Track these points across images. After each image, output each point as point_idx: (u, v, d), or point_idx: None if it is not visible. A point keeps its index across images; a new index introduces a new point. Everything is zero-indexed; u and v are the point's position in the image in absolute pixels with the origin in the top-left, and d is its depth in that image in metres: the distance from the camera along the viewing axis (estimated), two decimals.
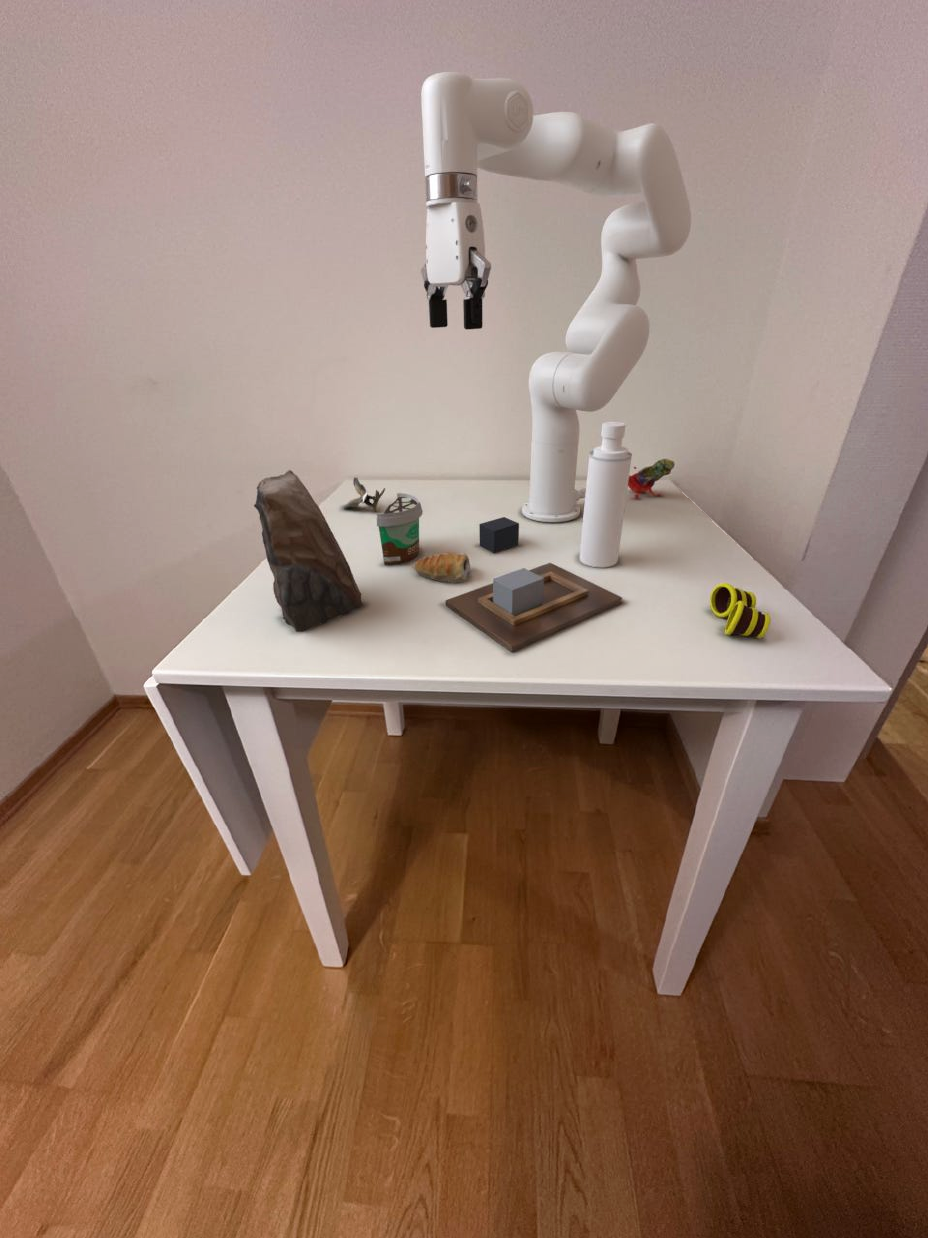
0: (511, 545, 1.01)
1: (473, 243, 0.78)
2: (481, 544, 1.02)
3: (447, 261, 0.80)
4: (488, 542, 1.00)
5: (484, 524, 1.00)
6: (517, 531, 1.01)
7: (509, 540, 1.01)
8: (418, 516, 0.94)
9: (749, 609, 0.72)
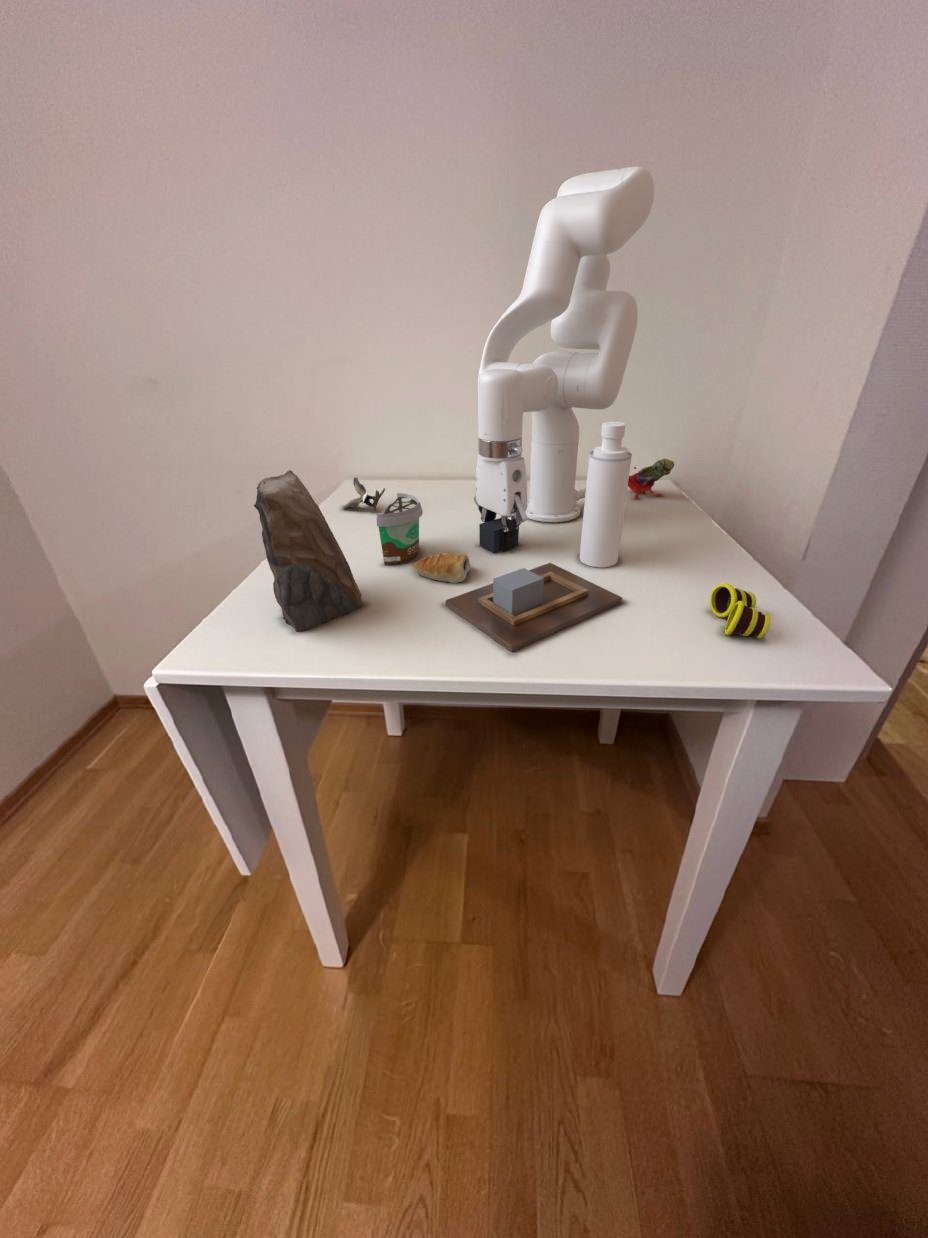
0: None
1: (518, 489, 0.93)
2: (481, 544, 1.02)
3: (495, 498, 0.95)
4: (488, 542, 1.00)
5: (484, 524, 1.00)
6: (517, 531, 1.01)
7: None
8: (418, 516, 0.94)
9: (749, 609, 0.72)
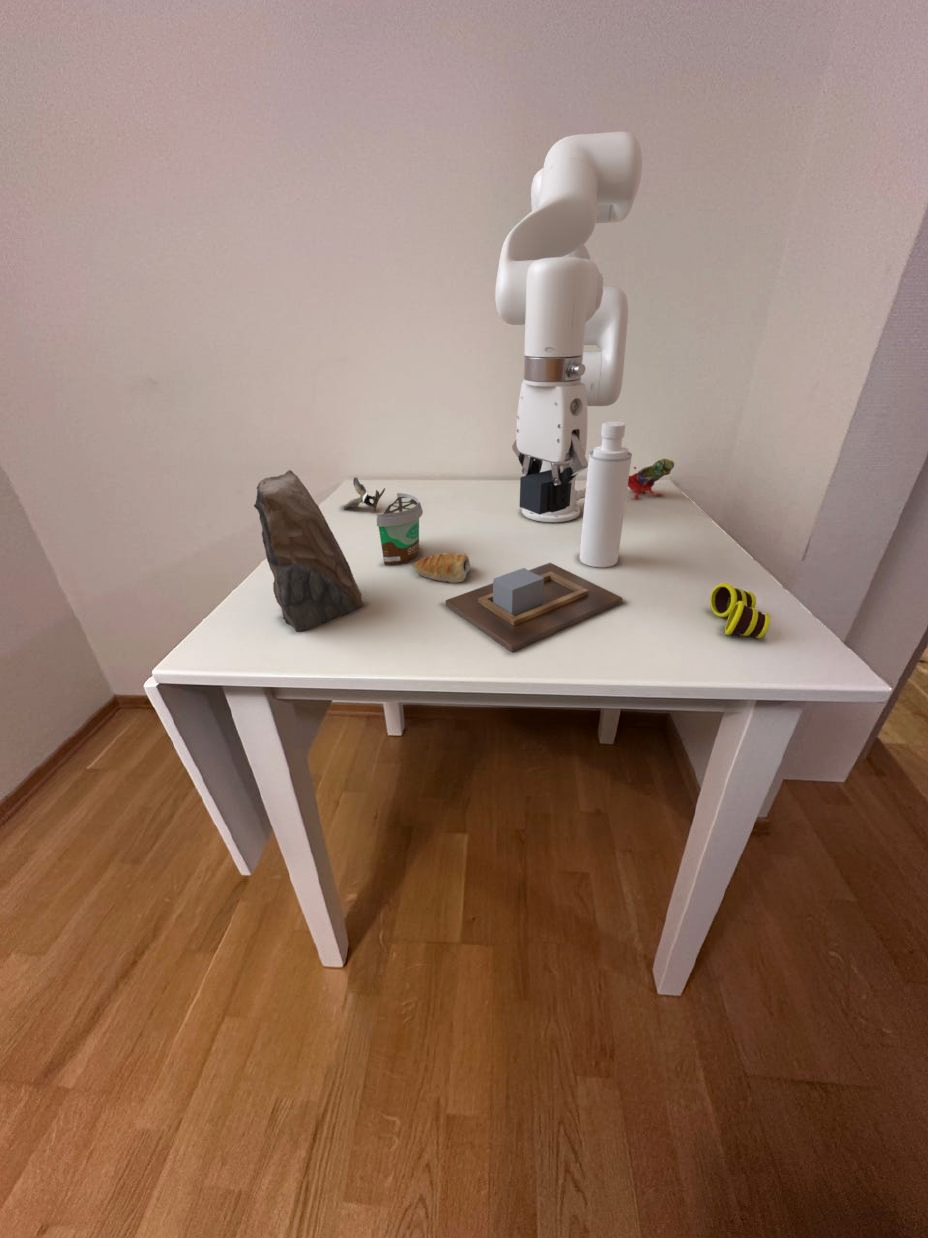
0: None
1: (577, 426, 0.70)
2: (522, 504, 0.79)
3: (545, 440, 0.72)
4: (532, 500, 0.77)
5: (527, 477, 0.77)
6: (569, 487, 0.78)
7: None
8: (418, 516, 0.94)
9: (749, 609, 0.72)
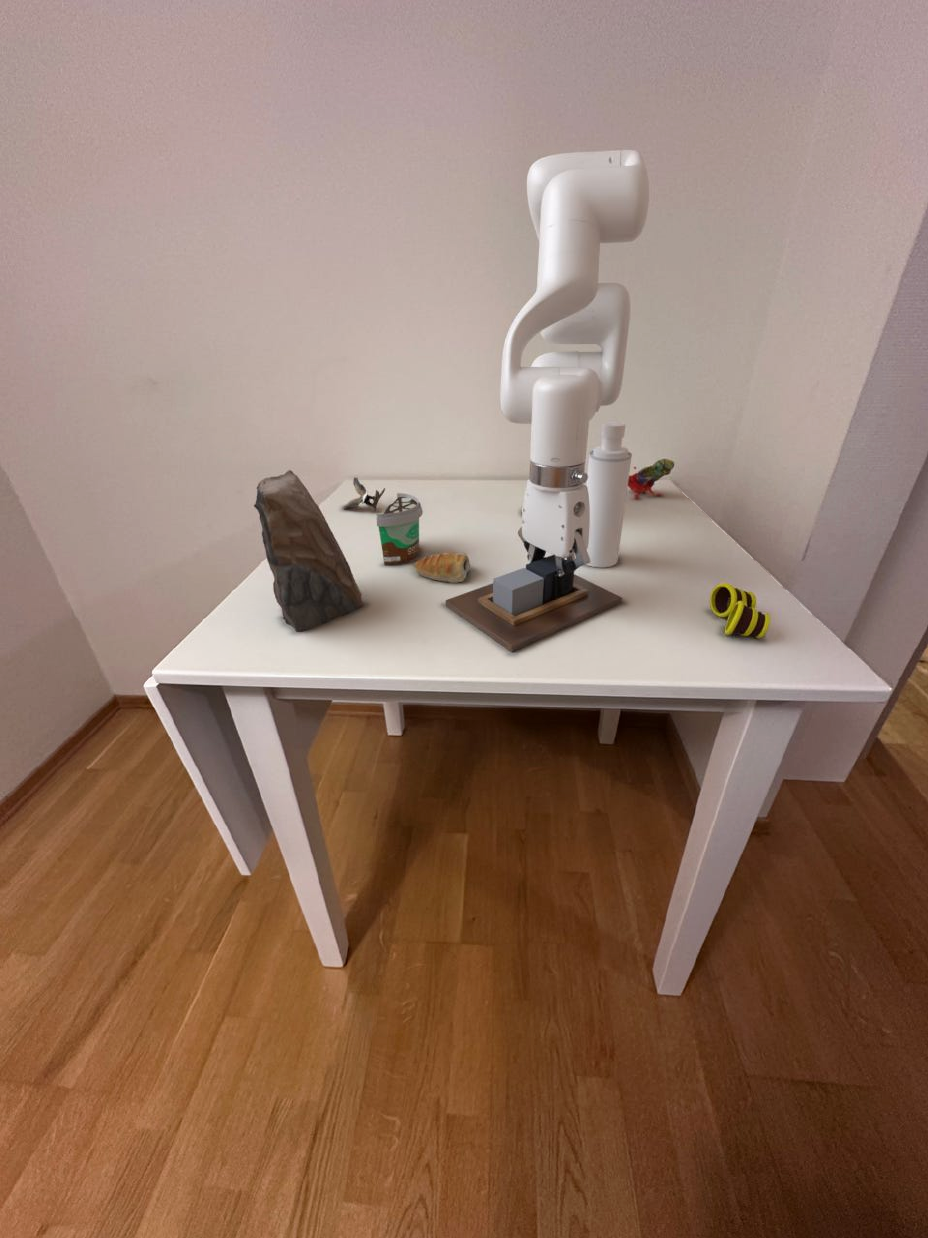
0: None
1: (580, 525, 0.74)
2: None
3: (550, 536, 0.76)
4: None
5: (532, 565, 0.81)
6: (572, 573, 0.82)
7: None
8: (418, 516, 0.94)
9: (749, 609, 0.72)
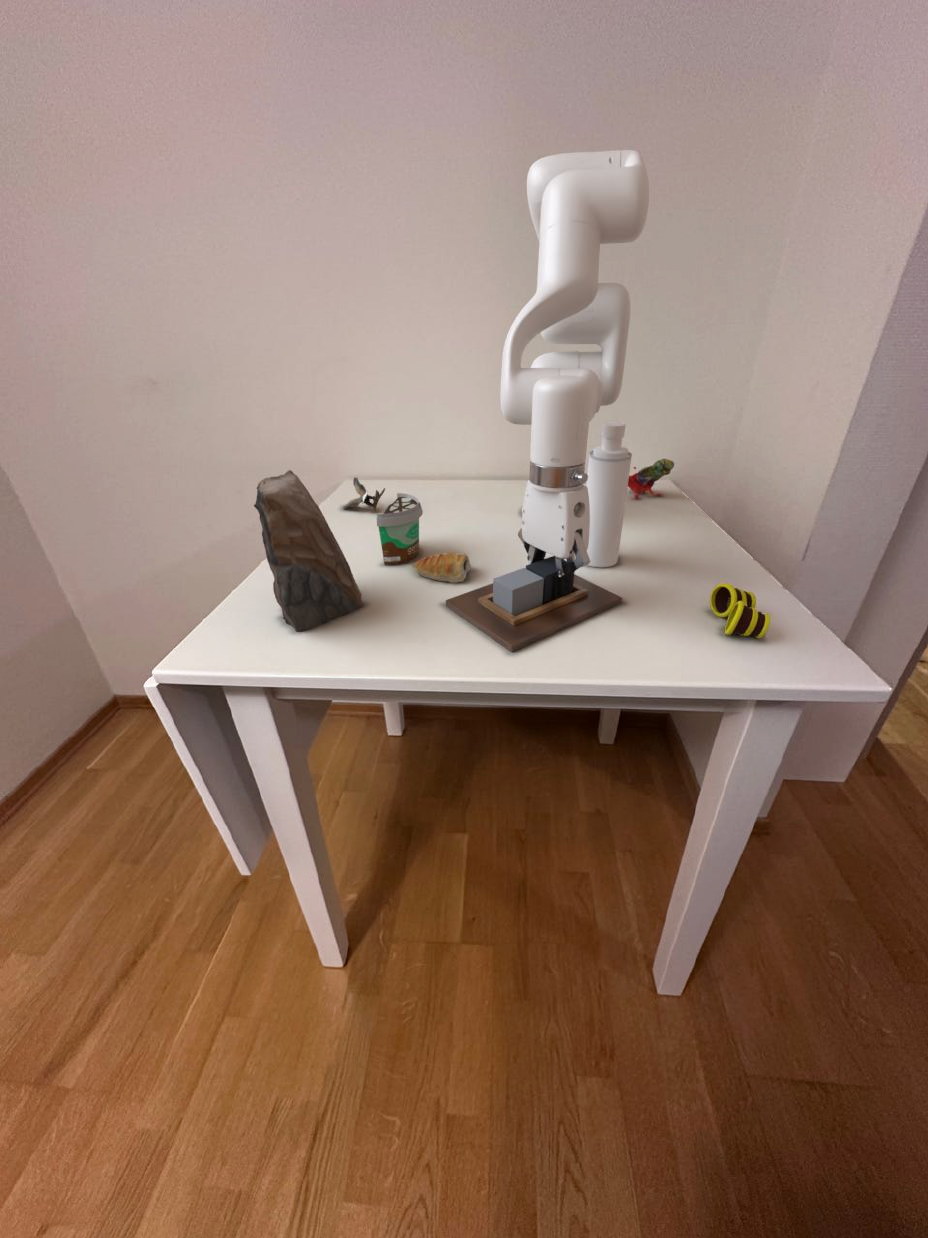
0: None
1: (580, 526, 0.74)
2: None
3: (550, 537, 0.76)
4: None
5: (532, 566, 0.81)
6: (572, 574, 0.82)
7: None
8: (418, 516, 0.94)
9: (749, 609, 0.72)
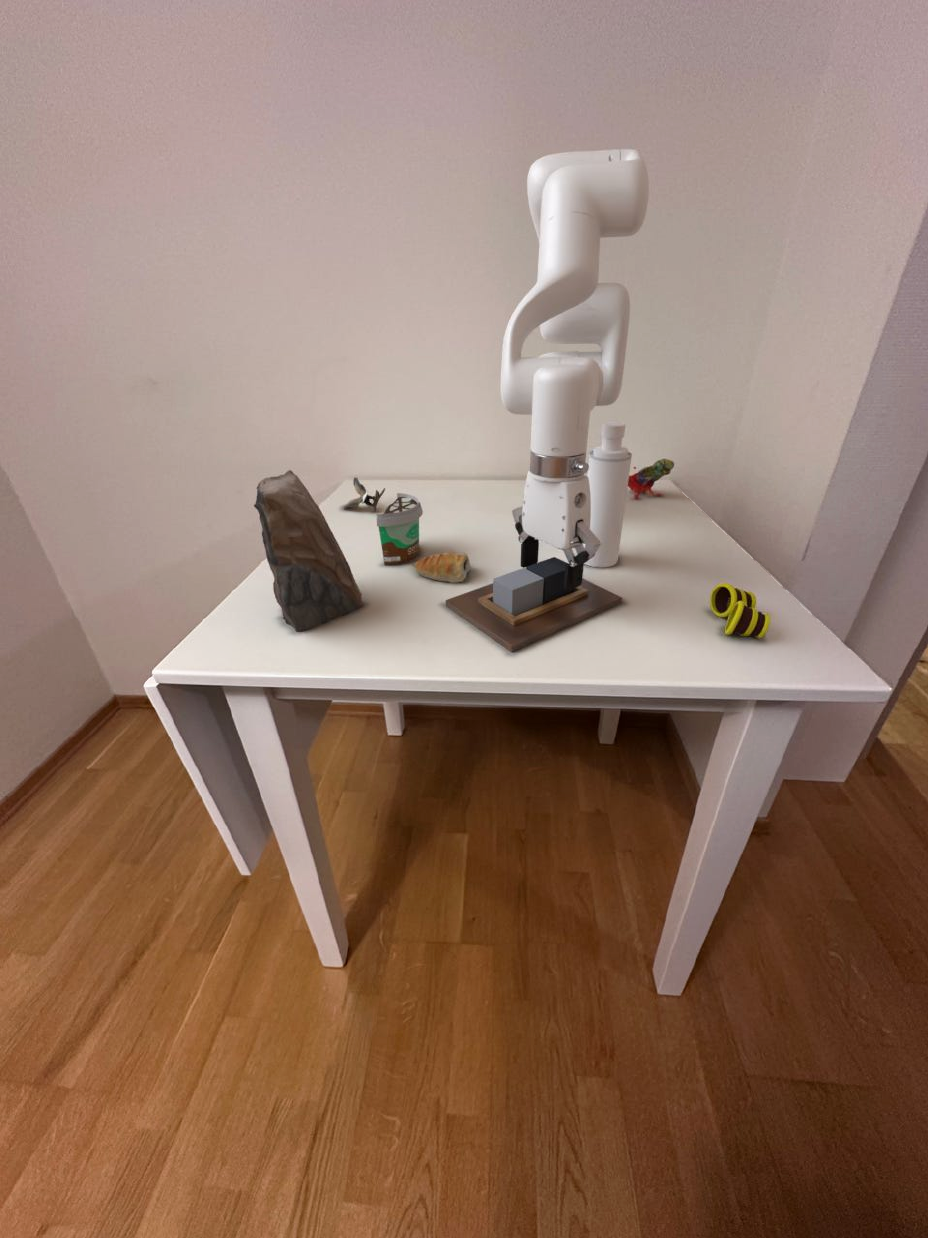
0: (564, 592, 0.83)
1: (580, 517, 0.73)
2: None
3: (550, 528, 0.75)
4: None
5: (532, 568, 0.81)
6: None
7: (562, 587, 0.82)
8: (418, 516, 0.94)
9: (749, 609, 0.72)
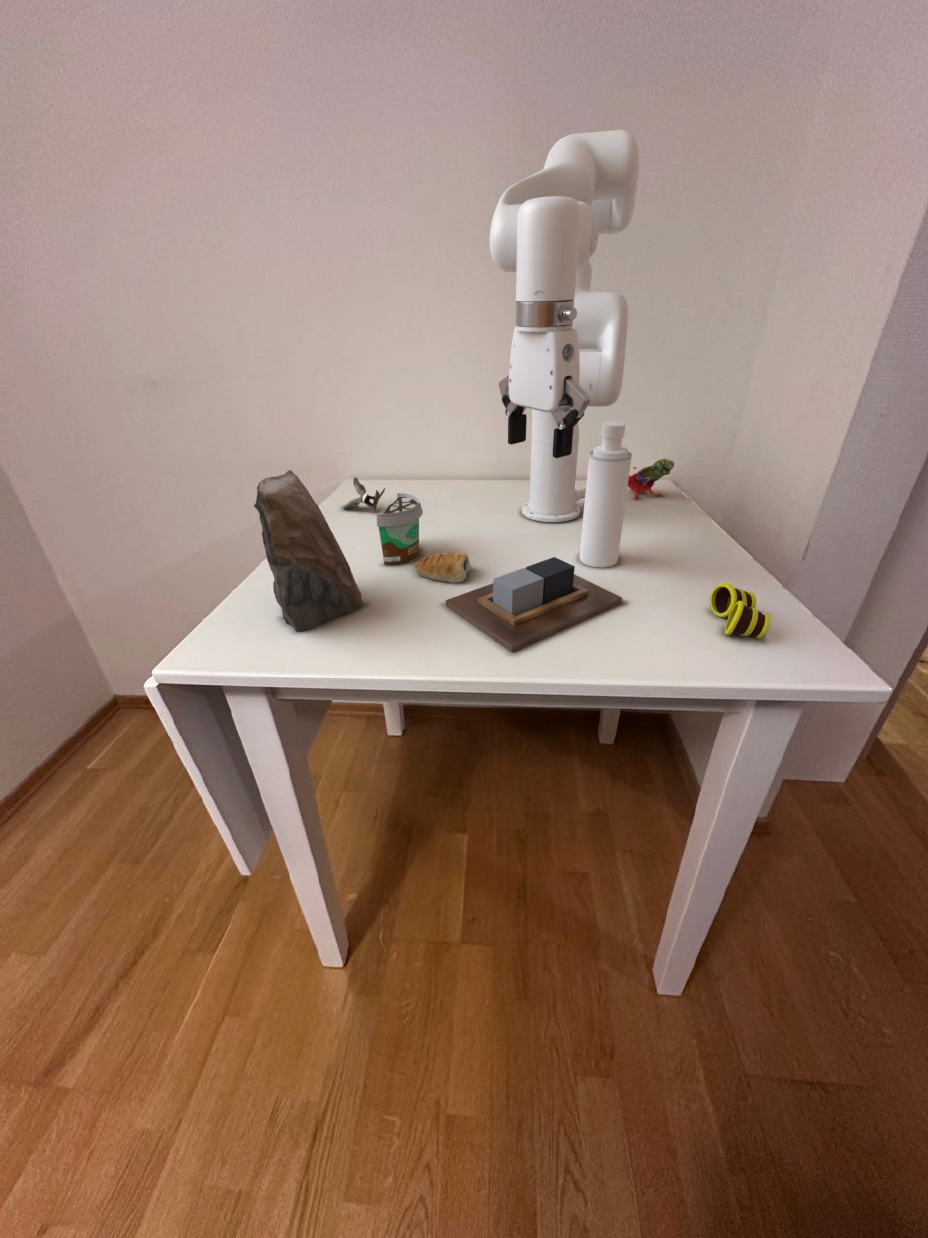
0: (564, 592, 0.83)
1: (569, 372, 0.70)
2: None
3: (538, 388, 0.72)
4: None
5: (532, 568, 0.81)
6: (572, 576, 0.82)
7: (562, 587, 0.82)
8: (418, 516, 0.94)
9: (749, 609, 0.72)
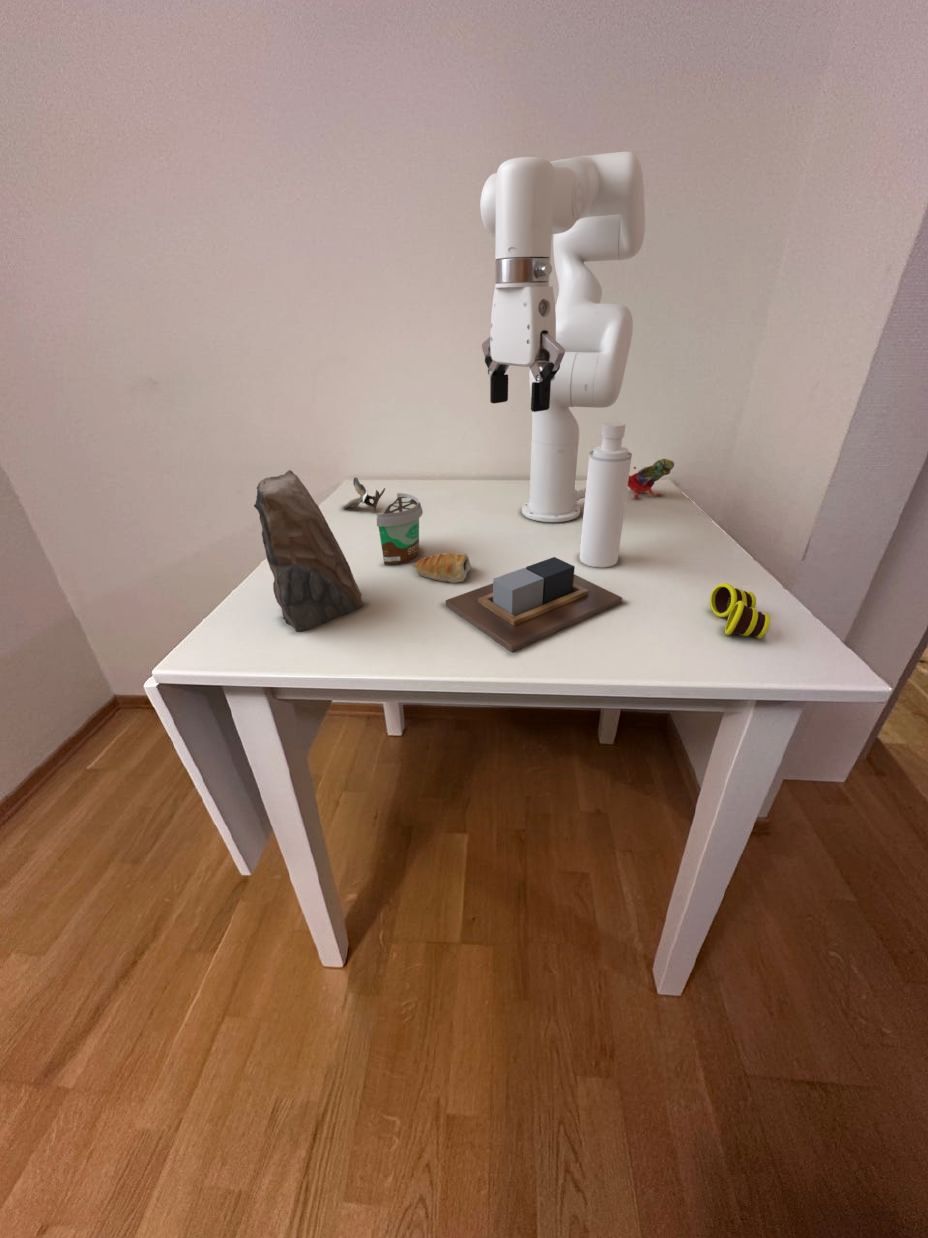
0: (564, 592, 0.83)
1: (545, 327, 0.74)
2: None
3: (516, 343, 0.76)
4: None
5: (532, 568, 0.81)
6: (572, 576, 0.82)
7: (562, 587, 0.82)
8: (418, 516, 0.94)
9: (749, 609, 0.72)
